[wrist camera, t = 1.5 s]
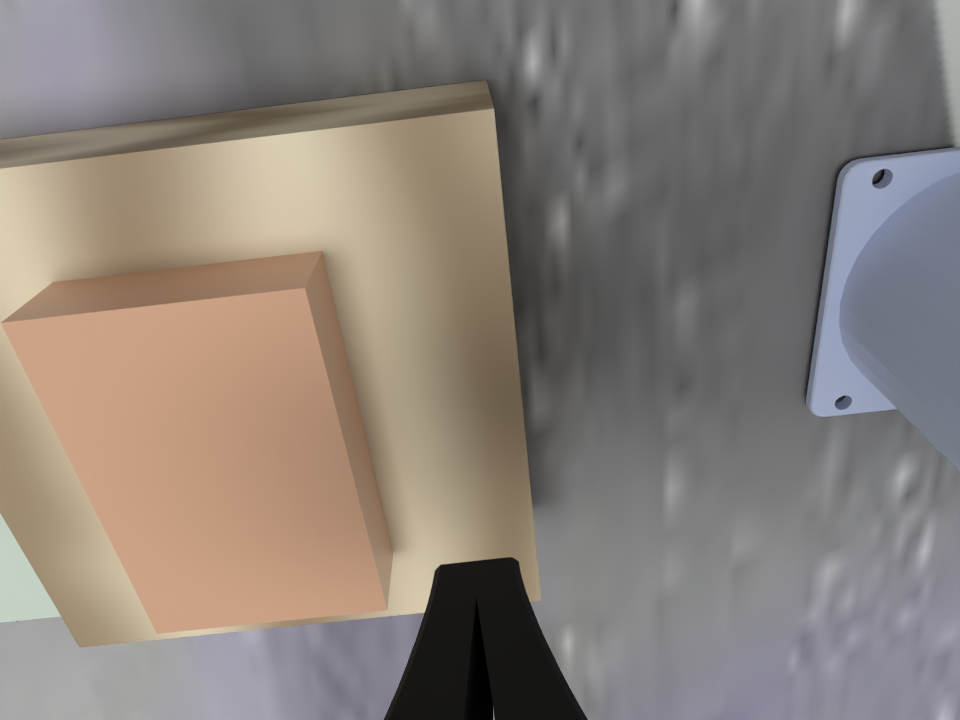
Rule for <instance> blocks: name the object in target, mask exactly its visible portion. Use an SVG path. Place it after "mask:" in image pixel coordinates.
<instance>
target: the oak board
mask: <svg viewBox="0 0 960 720" xmlns="http://www.w3.org/2000/svg"><path fill="white" fill-rule="evenodd" d="M317 251H322V252H323V256H324V260H325V264H326V269H327V273H328V277H329V281H330V286H331V290H332V294H333V298H334V303H335V307H336V311H337V315H338V320H339V324H340V328H341V332H342V337H343V341H344V345H345V349H346V354H347V358H348V362H349V366H350V371H351V375H352V379H353V383H354V388H355V392H356V396H357V400H358V405H359V409H360V413H361V418H362V422H363V426H364V430H365V435H366V439H367V443H368V447H369V452H370V456H371V460H372V464H373V469H374V473H375V477H376V481H377V486H378V490H379V494H380V498H381V503H382V507H383V511H384V515H385V520H386V524H387V528H388V532H389V537H390V541H391V545H392V549H393V561H392V571H391V580H390V589H389V599H388V608H387V610H386V611H376V612H366V613H356V614H347V615H337V616H327V617H317V618H307V619H297V620H288V621H278V622H268V623H258V624H248V625H238V626H229V627H219V628H209V629H199V630H189V631H180V632H170V633H160V634H157V633H156V631H155V629H154V627H153V625H152V623H151V621H150V619H149V617H148V615H147V613H146V611H145V609H144V607H143V605H142V603H141V601H140V599H139V597H138V595H137V593H136V591H135V589H134V587H133V585H132V583H131V581H130V579H129V577H128V575H127V573H126V571H125V569H124V567H123V565H122V563H121V561H120V559H119V558H118V556H117V554H116V552H115V550H114V548H113V546H112V544H111V542H110V540H109V538H108V536H107V534H106V532H105V530H104V528H103V526H102V524H101V522H100V520H99V518H98V516H97V514H96V512H95V510H94V508H93V506H92V504H91V502H90V500H89V498H88V496H87V494H86V492H85V490H84V488H83V486H82V484H81V482H80V480H79V478H78V476H77V474H76V472H75V470H74V468H73V466H72V464H71V462H70V460H69V458H68V456H67V454H66V452H65V450H64V448H63V446H62V444H61V442H60V440H59V438H58V436H57V434H56V432H55V430H54V428H53V426H52V424H51V422H50V420H49V418H48V416H47V414H46V412H45V410H44V408H43V406H42V404H41V402H40V400H39V398H38V396H37V394H36V392H35V390H34V388H33V386H32V384H31V382H30V380H29V379H28V377H27V375H26V373H25V371H24V369H23V367H22V365H21V363H20V361H19V359H18V357H17V355H16V353H15V351H14V349H13V347H12V345H11V343H10V341H9V339H8V337H7V335H6V333H5V331H4V329H3V327H2V325H1V322H2V321H4V320H5V319H6V318H8V317H9V316H10V315H11V314H13V313H14V312H15V311H16V310H18V309H19V308H20V307H22V306H23V305H24V304H25V303H27V302H28V301H29V300H31V299H32V298H33V297H34V296H36V295H37V294H38V293H39V292H41V291H42V290H43V289H45V288H46V287H47V286H48V285H50V284H51V283H52V282H60V281H69V280H77V279H86V278H95V277H103V276H112V275H120V274H129V273H137V272H146V271H155V270H163V269H172V268H180V267H189V266H197V265H206V264H215V263H223V262H232V261H240V260H249V259H257V258H266V257H275V256H283V255H292V254H300V253H309V252H317ZM0 514H1V516H2V517H3V519H4V521H5V522H6V524H7V526H8V527H9V529H10V531H11V532H12V534H13V536H14V537H15V539H16V541H17V543H18V544H19V546H20V548H21V549H22V551H23V553H24V554H25V556H26V558H27V559H28V561H29V563H30V565H31V566H32V568H33V570H34V571H35V573H36V575H37V576H38V578H39V580H40V581H41V583H42V585H43V586H44V588H45V590H46V592H47V593H48V595H49V597H50V598H51V600H52V602H53V603H54V605H55V607H56V608H57V610H58V612H59V613H60V615H61V617H62V619H63V620H64V622H65V624H66V625H67V627H68V629H69V630H70V632H71V634H72V635H73V637H74V639H75V640H76V642H77V644H78V646H79V647H89V646H99V645H109V644H119V643H129V642H139V641H148V640H158V639H168V638H178V637H188V636H198V635H208V634H217V633H227V632H237V631H247V630H257V629H267V628H276V627H286V626H296V625H306V624H316V623H326V622H336V621H345V620H355V619H365V618H375V617H385V616H395V615H405V614H414V613H424V612H425V610H426V607H427V603H428V599H429V596H430V591H431V587H432V583H433V578H434V572H435V570H436V569H437V568H438V567H439V566H440V565H442V564H451V563H460V562H469V561H478V560H487V559H496V558H505V557H513V558H514V559H516V560H517V561H519V566H520V571H521V575H522V579H523V583H524V586H525V589H526V593H527V595H528V598H529V601H530V602H533V601H541V591H540V580H539V570H538V559H537V549H536V539H535V528H534V518H533V508H532V497H531V487H530V476H529V466H528V456H527V445H526V435H525V425H524V414H523V404H522V393H521V383H520V373H519V362H518V352H517V342H516V331H515V321H514V311H513V300H512V290H511V279H510V269H509V259H508V248H507V238H506V228H505V217H504V207H503V196H502V186H501V176H500V165H499V155H498V145H497V134H496V124H495V113H494V107H493V103H492V99H491V96H490V92H489V88H488V84H487V81H486V80H483V81H475V82H466V83H458V84H450V85H442V86H434V87H426V88H418V89H409V90H401V91H393V92H385V93H377V94H369V95H361V96H352V97H344V98H336V99H328V100H320V101H312V102H304V103H295V104H287V105H279V106H271V107H263V108H255V109H247V110H238V111H230V112H222V113H214V114H206V115H198V116H190V117H181V118H173V119H165V120H157V121H149V122H141V123H133V124H124V125H116V126H108V127H100V128H92V129H84V130H76V131H67V132H59V133H51V134H43V135H35V136H27V137H19V138H11V139H2V140H0Z"/></svg>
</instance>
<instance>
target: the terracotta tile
mask: <svg viewBox="0 0 960 720" xmlns="http://www.w3.org/2000/svg"><path fill="white" fill-rule="evenodd" d="M1 325H2V327H3V329H4V331H5V333H6V335H7V337H8V339H9V341H10V343H11V345H12V347H13V349H14V351H15V353H16V355H17V357H18V359H19V361H20V363H21V365H22V367H23V369H24V371H25V373H26V375H27V377H28V379H29V380H30V382H31V384H32V386H33V388H34V390H35V392H36V394H37V396H38V398H39V400H40V402H41V404H42V406H43V408H44V410H45V412H46V414H47V416H48V418H49V420H50V422H51V424H52V426H53V428H54V430H55V432H56V434H57V436H58V438H59V440H60V442H61V444H62V446H63V448H64V450H65V452H66V454H67V456H68V458H69V460H70V462H71V464H72V466H73V468H74V470H75V472H76V474H77V476H78V478H79V480H80V482H81V484H82V486H83V488H84V490H85V492H86V494H87V496H88V498H89V500H90V502H91V504H92V506H93V508H94V510H95V512H96V514H97V516H98V518H99V520H100V522H101V524H102V526H103V528H104V530H105V532H106V534H107V536H108V538H109V540H110V542H111V544H112V546H113V548H114V550H115V552H116V554H117V556H118V558H119V559H120V561H121V563H122V565H123V567H124V569H125V571H126V573H127V575H128V577H129V579H130V581H131V583H132V585H133V587H134V589H135V591H136V593H137V595H138V597H139V599H140V601H141V603H142V605H143V607H144V609H145V611H146V613H147V615H148V617H149V619H150V621H151V623H152V625H153V627H154V629H155V631H156V633H157V634H160V633H170V632H180V631H189V630H199V629H209V628H219V627H229V626H238V625H248V624H258V623H268V622H278V621H288V620H297V619H307V618H317V617H327V616H337V615H347V614H356V613H366V612H376V611H386V610H387V608H388V599H389V589H390V580H391V571H392V561H393V549H392V545H391V541H390V537H389V532H388V528H387V524H386V520H385V515H384V511H383V507H382V503H381V498H380V494H379V490H378V486H377V481H376V477H375V473H374V469H373V464H372V460H371V456H370V452H369V447H368V443H367V439H366V435H365V430H364V426H363V422H362V418H361V413H360V409H359V405H358V400H357V396H356V392H355V388H354V383H353V379H352V375H351V371H350V366H349V362H348V358H347V354H346V349H345V345H344V341H343V337H342V332H341V328H340V324H339V320H338V315H337V311H336V307H335V303H334V298H333V294H332V290H331V286H330V281H329V277H328V273H327V269H326V264H325V260H324V256H323V252H322V251H317V252H309V253H300V254H292V255H283V256H275V257H266V258H257V259H249V260H240V261H232V262H223V263H215V264H206V265H197V266H189V267H180V268H172V269H163V270H155V271H146V272H137V273H129V274H120V275H112V276H103V277H95V278H86V279H77V280H69V281H60V282H52V283H51V284H50V285H48V286H47V287H46V288H45V289H43V290H42V291H41V292H39V293H38V294H37V295H36V296H34V297H33V298H32V299H31V300H29V301H28V302H27V303H25V304H24V305H23V306H22V307H20V308H19V309H18V310H16V311H15V312H14V313H13V314H11V315H10V316H9V317H8V318H6V319H5V320H4V321H2V322H1Z"/></svg>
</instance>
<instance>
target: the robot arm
mask: <svg viewBox="0 0 960 720" xmlns="http://www.w3.org/2000/svg"><path fill="white" fill-rule="evenodd" d="M882 169H884V172H885V174H884V177H883V179H882V180H881V181H880V182H879V183H877V184H874V185H872V179H873V177H874V175H875V174H876V173H877V172H878V171H879V170H882ZM842 396H845V398H844V399H843V400H842V401H841V402H838V403H835V402H836V400H837V399H838V398H839V397H842ZM806 405H807V407H808V408H809V409H810V410H811V412H812V413H813V414H814V415H816V416H818V417H828V416H838V415H847V414H856V413H865V412H875V411H884V410H893V409H898V410H899V411H900V412H901V413H902V415H903V416H904V417H905V418H906V419H907V420H908V421H909V422H910V423H911V424H912V425H913V426H914V427H915V428H916V429H917V430H918V431H919V432H920V433H921V434H922V435H923V436H924V437H925V438H926V439H927V440H928V441H929V442H930V443H931V444H932V445H933V446H934V447H935V448H936V449H937V450H938V451H939V452H940V453H941V454H942V455H943V456H944V457H945V458H946V459H947V460H948V461H949V462H950V463H951V464H952V465H953V466H954V467H955V468H956V469H957V470H958V471H959V472H960V147H954V148H946V149H937V150H929V151H920V152H912V153H903V154H895V155H887V156H878V157H870V158H861V159H857V160H853V161H851V162H850V163H848V164H847V165H845V166H844V168H843V169H842V170H841V172H840V174H839V177H838V180H837V186H836V193H835V200H834V207H833V214H832V221H831V228H830V235H829V242H828V249H827V256H826V264H825V271H824V278H823V285H822V292H821V299H820V306H819V313H818V320H817V327H816V334H815V341H814V348H813V355H812V362H811V369H810V376H809V383H808V390H807V397H806ZM493 707H494V716H495V720H588V719H587V718H586V716H585V714H584V713H583V711H582V709H581V707H580V705H579V704H578V702H577V700H576V698H575V697H574V695H573V693H572V691H571V689H570V688H569V686H568V684H567V682H566V680H565V678H564V676H563V674H562V672H561V671H560V668H559V666H558V664H557V662H556V660H555V658H554V656H553V654H552V652H551V650H550V648H549V646H548V644H547V642H546V640H545V638H544V635H543V633H542V631H541V628H540V626H539V624H538V621H537V619H536V616H535V614H534V611H533V609H532V606H531V604H530V601H529V598H528V595H527V593H526V589H525V586H524V583H523V579H522V575H521V571H520V566H519V561H517V560H516V559H514V558H513V557H505V558H496V559H487V560H478V561H469V562H460V563H451V564H442V565H440V566H439V567H438V568H437V569H436V570H435V572H434V578H433V583H432V587H431V591H430V596H429V599H428V603H427V607H426V610H425V613H424V617H423V620H422V623H421V626H420V629H419V632H418V635H417V638H416V641H415V644H414V646H413V649H412V652H411V655H410V657H409V660H408V663H407V665H406V668H405V671H404V673H403V676H402V679H401V681H400V684H399V686H398V689H397V691H396V693H395V695H394V698H393V700H392V702H391V705H390V707H389V709H388V711H387V714H386V716H385V718H384V720H493Z"/></svg>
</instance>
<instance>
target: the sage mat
mask: <svg viewBox="0 0 960 720" xmlns="http://www.w3.org/2000/svg"><path fill="white" fill-rule="evenodd" d="M59 616H61V615H60V613H59V612H58V610H57V608H56V607H55V605H54V603H53V602H52V600H51V598H50V597H49V595H48V593H47V592H46V590H45V588H44V586H43V585H42V583H41V581H40V580H39V578H38V576H37V575H36V573H35V571H34V570H33V568H32V566H31V565H30V563H29V561H28V559H27V558H26V556H25V554H24V553H23V551H22V549H21V548H20V546H19V544H18V543H17V541H16V539H15V537H14V536H13V534H12V532H11V531H10V529H9V527H8V526H7V524H6V522H5V521H4V519H3V517H2V516H1V514H0V623H1V622H11V621H20V620H30V619H40V618H50V617H59Z"/></svg>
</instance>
